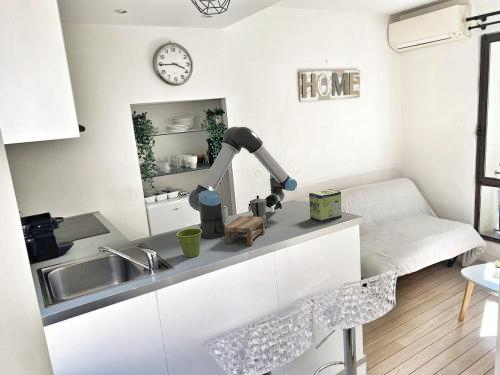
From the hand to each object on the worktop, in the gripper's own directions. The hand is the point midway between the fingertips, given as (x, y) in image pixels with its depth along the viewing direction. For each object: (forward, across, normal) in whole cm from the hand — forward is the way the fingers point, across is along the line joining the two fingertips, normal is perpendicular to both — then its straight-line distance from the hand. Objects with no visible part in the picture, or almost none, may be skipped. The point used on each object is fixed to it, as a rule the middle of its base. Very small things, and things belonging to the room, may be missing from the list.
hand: (260, 209), depth 212 cm
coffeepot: (+1, +1, -10) cm, 10 cm away
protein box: (-21, -32, -10) cm, 40 cm away
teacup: (-9, +30, -10) cm, 33 cm away
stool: (+21, +1, -10) cm, 23 cm away
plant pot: (+47, +18, -10) cm, 51 cm away
